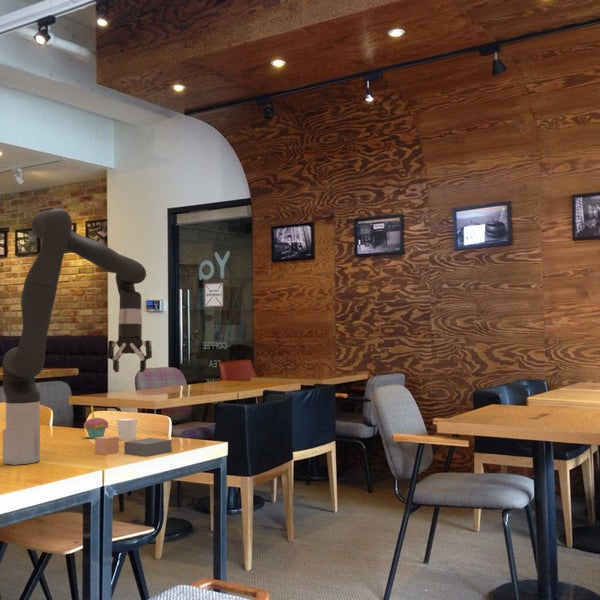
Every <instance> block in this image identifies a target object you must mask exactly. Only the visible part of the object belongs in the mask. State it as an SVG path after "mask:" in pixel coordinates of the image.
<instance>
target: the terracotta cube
mask: <svg viewBox="0 0 600 600" xmlns="http://www.w3.org/2000/svg"><path fill="white" fill-rule="evenodd" d="M119 442H120V440H119V436H118V435H117V436H116V435H115V436H114V435H103V437H96V438H95V439H94V452H95V453H94V454H95V455H100V454H102V455H103V456H108V455H107V454H109V455H113V454H112V453H115V454H119V453H120V452H119V451H120V449H119V448H120V447H119V446H120V445H119ZM118 452H119V453H118ZM102 455H101V456H102Z"/></svg>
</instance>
